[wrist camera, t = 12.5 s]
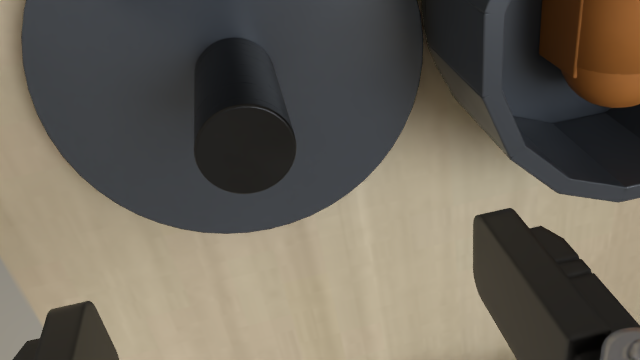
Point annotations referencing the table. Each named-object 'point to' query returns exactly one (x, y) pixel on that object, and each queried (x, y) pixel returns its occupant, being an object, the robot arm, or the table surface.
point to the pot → (532, 99)
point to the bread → (595, 48)
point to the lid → (223, 101)
